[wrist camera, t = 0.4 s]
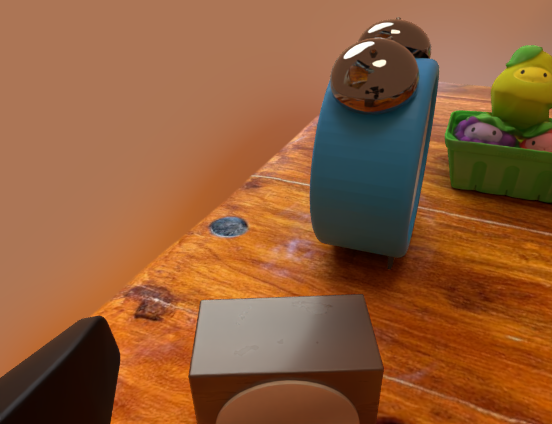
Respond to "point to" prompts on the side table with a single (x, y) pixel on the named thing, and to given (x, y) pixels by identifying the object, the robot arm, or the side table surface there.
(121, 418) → the side table surface
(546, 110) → the fruit basket
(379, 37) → the alarm clock
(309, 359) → the dark brown block
